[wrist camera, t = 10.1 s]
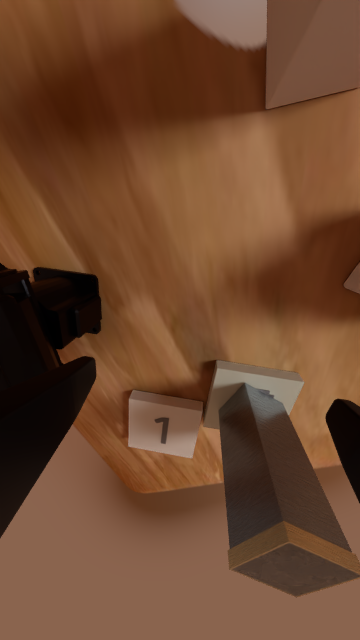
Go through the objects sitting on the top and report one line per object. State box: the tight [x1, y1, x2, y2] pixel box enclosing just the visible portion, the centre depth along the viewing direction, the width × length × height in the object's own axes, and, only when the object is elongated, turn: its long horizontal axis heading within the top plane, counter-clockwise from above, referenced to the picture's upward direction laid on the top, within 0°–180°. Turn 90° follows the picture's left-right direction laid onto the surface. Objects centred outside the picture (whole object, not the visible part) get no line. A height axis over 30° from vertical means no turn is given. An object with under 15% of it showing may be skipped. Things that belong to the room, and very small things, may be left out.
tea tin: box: [218, 383, 360, 597], centre depth 17 cm, size 5×5×12 cm
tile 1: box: [128, 390, 203, 458], centre depth 26 cm, size 9×9×2 cm
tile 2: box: [203, 360, 304, 430], centre depth 23 cm, size 9×9×2 cm
